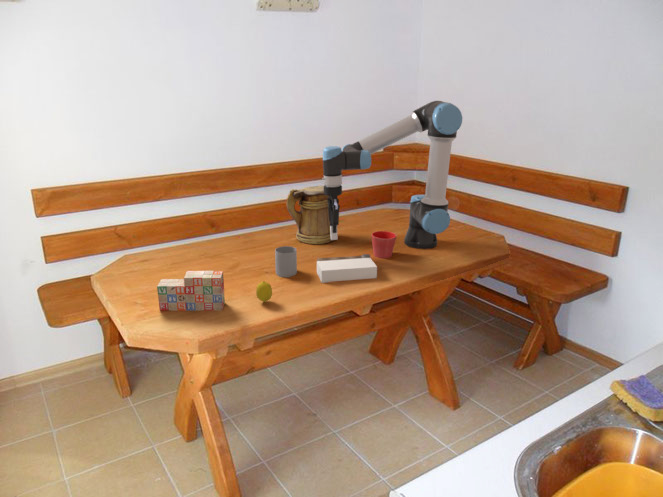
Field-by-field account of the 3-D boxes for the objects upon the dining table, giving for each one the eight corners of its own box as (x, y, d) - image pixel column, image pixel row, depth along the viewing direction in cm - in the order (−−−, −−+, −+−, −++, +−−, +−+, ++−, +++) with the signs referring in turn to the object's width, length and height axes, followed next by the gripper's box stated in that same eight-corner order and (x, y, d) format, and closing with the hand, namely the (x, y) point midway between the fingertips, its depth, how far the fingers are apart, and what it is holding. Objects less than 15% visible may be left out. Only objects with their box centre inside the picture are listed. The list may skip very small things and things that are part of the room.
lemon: (257, 299, 191) (256, 278, 188) (272, 298, 191) (272, 278, 188) (256, 305, 186) (255, 284, 183) (272, 305, 186) (271, 284, 183)
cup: (293, 278, 209) (293, 254, 205) (273, 276, 210) (272, 252, 207) (298, 270, 217) (298, 247, 213) (279, 268, 218) (278, 245, 215)
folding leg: (368, 264, 223) (369, 253, 221) (371, 268, 219) (371, 257, 217) (317, 267, 219) (317, 256, 217) (318, 270, 215) (318, 259, 214)
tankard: (342, 241, 250) (343, 189, 241) (295, 248, 240) (294, 194, 232) (325, 230, 265) (325, 181, 257) (281, 237, 256) (279, 185, 247)
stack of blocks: (159, 311, 181) (155, 277, 177) (163, 303, 187) (160, 270, 183) (222, 310, 182) (220, 277, 178) (225, 302, 188) (223, 270, 184)
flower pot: (397, 253, 237) (398, 232, 233) (391, 261, 227) (393, 239, 224) (374, 250, 240) (375, 229, 236) (367, 258, 230) (368, 237, 227)
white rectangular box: (369, 269, 218) (370, 257, 217) (376, 278, 209) (377, 266, 208) (316, 272, 214) (316, 261, 212) (321, 282, 205) (321, 270, 203)
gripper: (320, 182, 224) (322, 235, 233) (327, 189, 212) (328, 245, 221) (337, 180, 226) (339, 233, 234) (345, 187, 214) (346, 243, 222)
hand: (334, 239), depth 227 cm, fingers closed
